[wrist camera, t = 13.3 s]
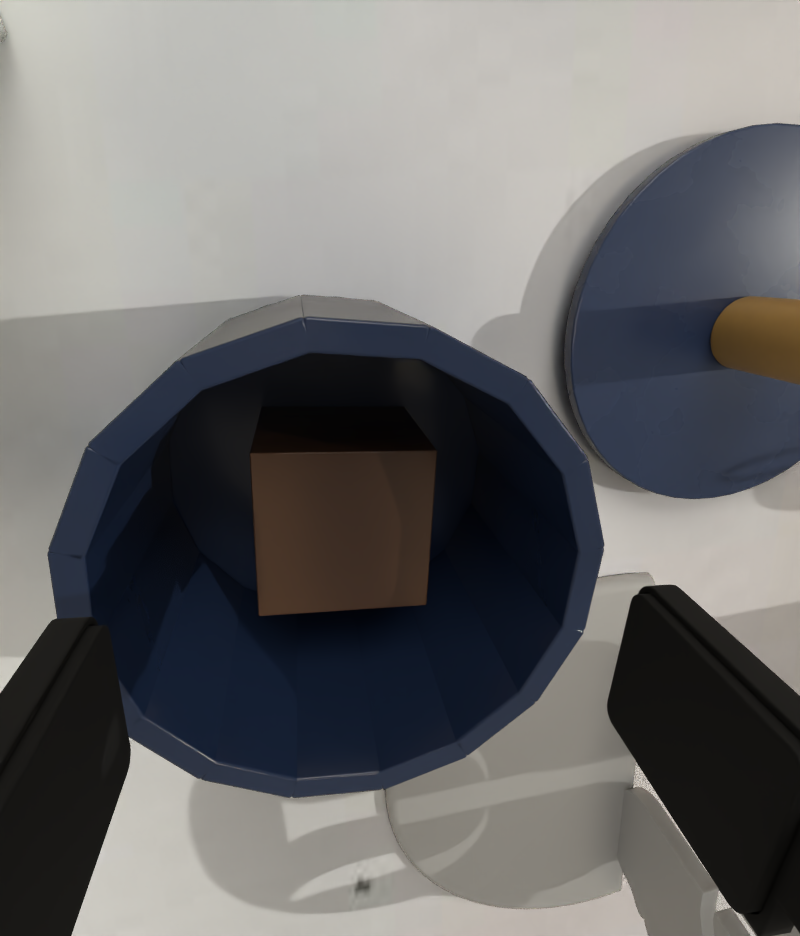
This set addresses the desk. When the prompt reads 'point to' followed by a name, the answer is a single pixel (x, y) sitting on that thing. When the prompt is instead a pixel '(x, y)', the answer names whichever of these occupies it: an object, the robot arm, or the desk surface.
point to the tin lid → (696, 321)
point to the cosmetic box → (2, 31)
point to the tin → (335, 632)
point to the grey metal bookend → (560, 804)
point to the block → (341, 509)
